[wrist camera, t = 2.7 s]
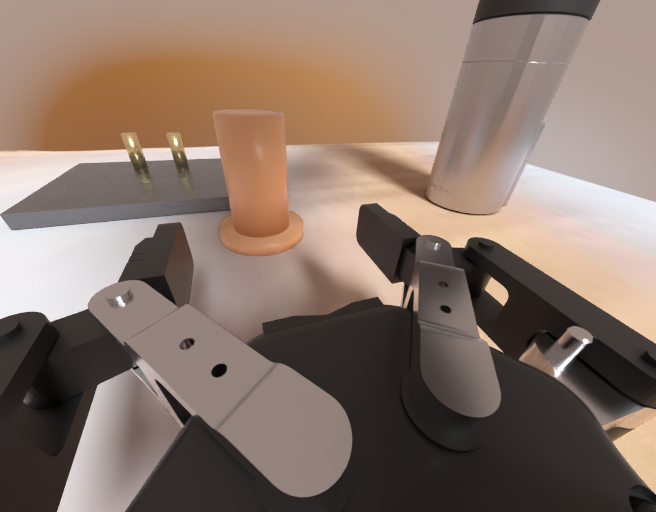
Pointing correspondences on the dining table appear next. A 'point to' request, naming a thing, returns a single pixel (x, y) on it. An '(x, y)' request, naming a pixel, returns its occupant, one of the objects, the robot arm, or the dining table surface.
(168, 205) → the base plate
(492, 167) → the robot arm
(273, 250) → the orange flanged cylinder
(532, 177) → the dining table surface
